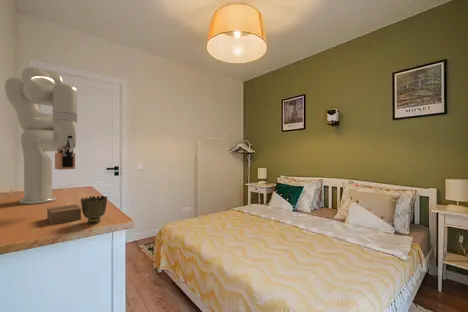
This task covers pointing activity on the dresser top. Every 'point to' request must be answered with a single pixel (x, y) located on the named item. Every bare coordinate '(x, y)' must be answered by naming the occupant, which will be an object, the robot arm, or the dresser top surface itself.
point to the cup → (93, 208)
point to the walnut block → (63, 214)
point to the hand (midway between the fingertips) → (65, 166)
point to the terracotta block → (59, 161)
